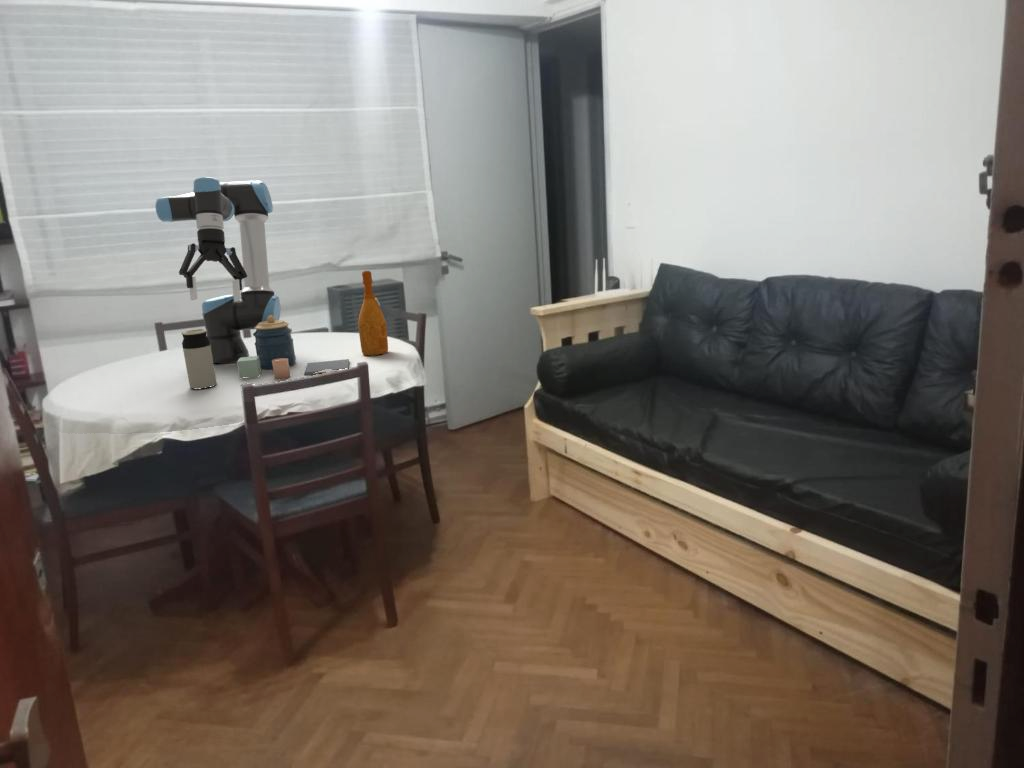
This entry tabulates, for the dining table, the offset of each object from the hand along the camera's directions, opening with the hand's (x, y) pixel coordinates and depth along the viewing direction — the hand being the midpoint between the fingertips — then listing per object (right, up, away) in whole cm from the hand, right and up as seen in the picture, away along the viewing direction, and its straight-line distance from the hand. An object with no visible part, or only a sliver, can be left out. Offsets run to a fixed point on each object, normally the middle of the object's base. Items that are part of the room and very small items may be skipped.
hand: (216, 300), depth 218 cm
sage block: (+2, -23, +23) cm, 32 cm away
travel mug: (-9, -26, +12) cm, 30 cm away
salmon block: (+14, -23, +18) cm, 32 cm away
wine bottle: (+39, -14, +45) cm, 62 cm away
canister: (+7, -19, +36) cm, 41 cm away
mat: (+27, -20, +27) cm, 43 cm away
